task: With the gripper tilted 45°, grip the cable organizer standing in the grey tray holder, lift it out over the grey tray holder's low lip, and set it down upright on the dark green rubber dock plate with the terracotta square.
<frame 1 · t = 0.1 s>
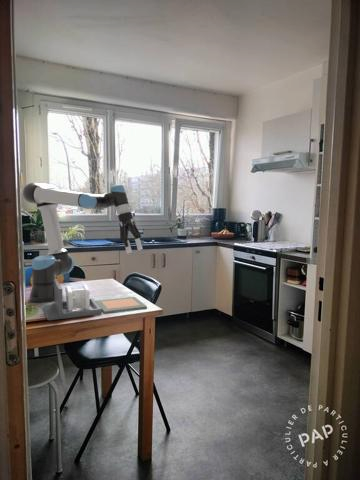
hand: (135, 251, 185), 28 cm above the table, tool tilted 20°, fingers open, 13 cm apart
cable organizer: (77, 310, 171), resting in grey tray holder
grey tray holder: (77, 310, 171), on the table
dock plate: (120, 305, 180), on the table
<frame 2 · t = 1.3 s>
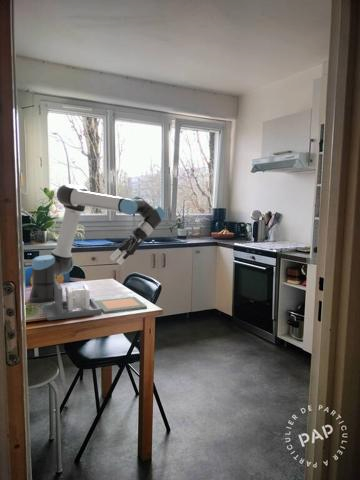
hand: (114, 261, 175), 24 cm above the table, tool tilted 45°, fingers open, 13 cm apart
nothing on the table moved.
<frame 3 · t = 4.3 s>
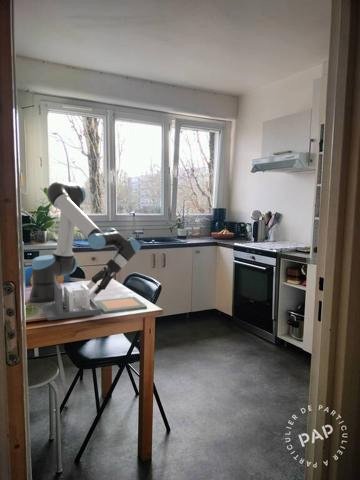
hand: (87, 295, 171), 7 cm above the table, tool tilted 45°, fingers open, 13 cm apart
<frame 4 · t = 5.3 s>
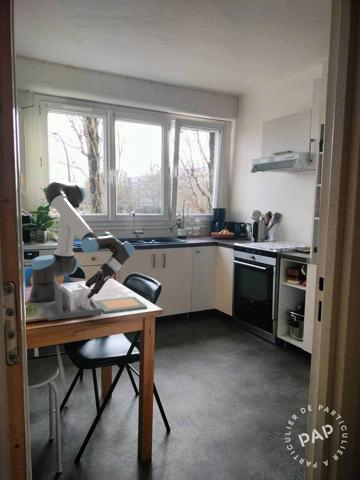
hand: (80, 299, 171), 5 cm above the table, tool tilted 45°, fingers open, 12 cm apart
cable organizer: (76, 310, 171), resting in grey tray holder, touching gripper
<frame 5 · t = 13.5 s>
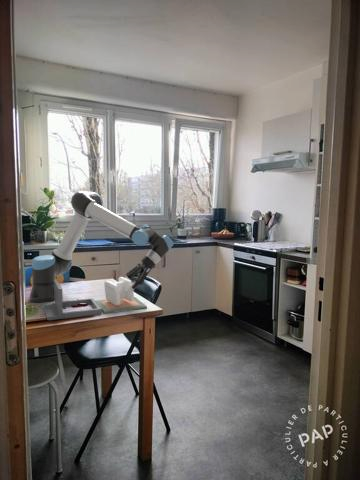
hand: (123, 289, 180), 8 cm above the table, tool tilted 45°, fingers open, 13 cm apart
cable organizer: (120, 302, 181), point 1 cm above the table, touching dock plate, gripper
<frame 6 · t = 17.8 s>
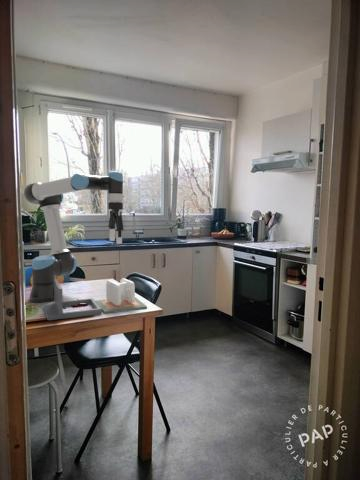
hand: (115, 242, 182), 33 cm above the table, tool pointing down, fingers open, 13 cm apart
cable organizer: (120, 303, 181), point 1 cm above the table, touching dock plate
at the end: cable organizer inside the target area (0.8 cm from its centre), point 0.9 cm above the table; cable organizer tilted 0°; the gripper is holding nothing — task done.
